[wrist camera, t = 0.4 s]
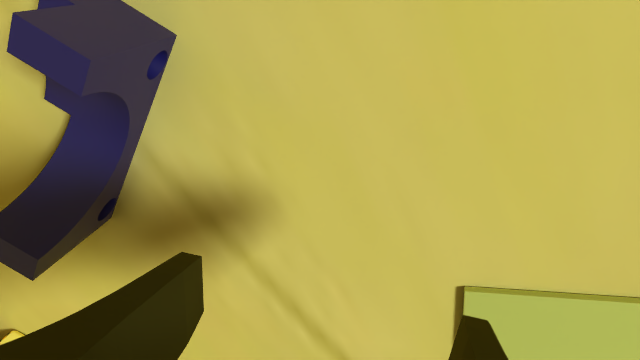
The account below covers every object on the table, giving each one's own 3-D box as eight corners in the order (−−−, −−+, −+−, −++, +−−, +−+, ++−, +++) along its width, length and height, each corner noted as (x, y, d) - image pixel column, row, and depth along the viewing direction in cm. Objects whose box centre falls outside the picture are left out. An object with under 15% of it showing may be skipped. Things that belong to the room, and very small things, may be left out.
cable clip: (92, -20, 20) (-27, -12, 15) (178, 34, 20) (90, 60, 15) (45, 176, 26) (-53, 231, 21) (112, 216, 26) (32, 280, 21)
